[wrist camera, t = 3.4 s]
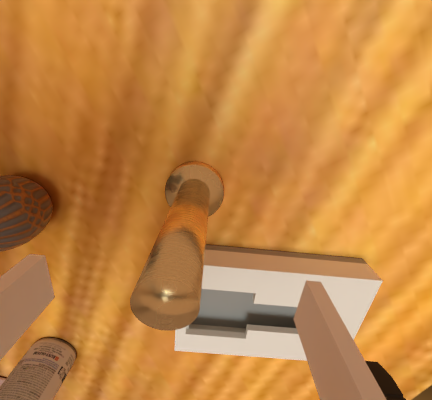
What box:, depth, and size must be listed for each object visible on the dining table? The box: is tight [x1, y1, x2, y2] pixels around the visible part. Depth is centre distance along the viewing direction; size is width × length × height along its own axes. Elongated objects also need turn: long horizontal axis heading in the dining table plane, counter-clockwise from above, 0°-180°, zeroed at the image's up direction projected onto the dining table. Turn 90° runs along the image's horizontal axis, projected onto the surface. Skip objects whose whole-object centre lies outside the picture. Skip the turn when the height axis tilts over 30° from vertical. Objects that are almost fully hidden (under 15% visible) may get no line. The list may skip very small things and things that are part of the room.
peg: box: [130, 162, 224, 330], centre depth 18 cm, size 6×6×16 cm
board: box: [175, 244, 382, 361], centre depth 29 cm, size 14×22×4 cm, turn 84°
